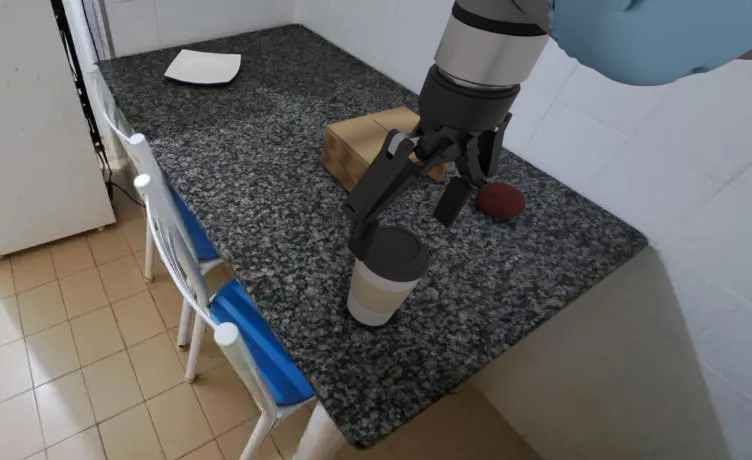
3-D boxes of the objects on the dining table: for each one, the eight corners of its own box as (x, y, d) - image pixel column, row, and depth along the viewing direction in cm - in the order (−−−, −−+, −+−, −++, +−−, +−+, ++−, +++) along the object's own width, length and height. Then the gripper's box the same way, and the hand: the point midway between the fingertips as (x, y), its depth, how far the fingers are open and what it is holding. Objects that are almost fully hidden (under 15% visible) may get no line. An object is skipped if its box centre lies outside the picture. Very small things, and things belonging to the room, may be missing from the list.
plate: (160, 85, 110) (159, 76, 108) (181, 56, 124) (180, 47, 122) (231, 92, 108) (231, 83, 106) (244, 62, 122) (244, 53, 120)
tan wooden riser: (441, 181, 82) (460, 143, 75) (363, 207, 76) (376, 168, 69) (391, 141, 92) (404, 105, 85) (319, 161, 86) (326, 124, 79)
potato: (490, 230, 72) (507, 206, 68) (460, 201, 78) (474, 177, 73) (522, 222, 74) (540, 198, 69) (490, 194, 79) (505, 170, 75)
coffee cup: (394, 285, 63) (427, 219, 52) (404, 335, 57) (444, 273, 46) (337, 280, 64) (359, 214, 53) (342, 329, 58) (366, 266, 47)
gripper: (537, 34, 40) (452, 192, 55) (330, 79, 33) (299, 245, 48) (611, 64, 35) (495, 227, 50) (388, 123, 28) (333, 292, 43)
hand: (400, 236), depth 49 cm, fingers open, 13 cm apart
